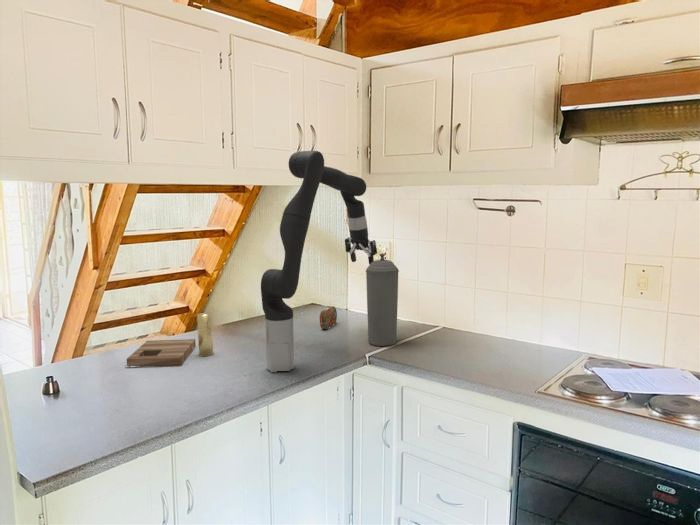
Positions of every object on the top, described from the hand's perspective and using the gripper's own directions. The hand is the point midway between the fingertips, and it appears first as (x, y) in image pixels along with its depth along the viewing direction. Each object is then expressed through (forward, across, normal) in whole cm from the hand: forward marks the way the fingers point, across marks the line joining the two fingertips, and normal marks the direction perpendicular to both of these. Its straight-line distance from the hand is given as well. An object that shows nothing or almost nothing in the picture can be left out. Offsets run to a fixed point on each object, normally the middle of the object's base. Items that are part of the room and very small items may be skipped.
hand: (362, 262), depth 213 cm
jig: (+11, -39, -75) cm, 86 cm away
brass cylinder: (+13, -28, -65) cm, 72 cm away
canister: (+24, +18, -19) cm, 36 cm away
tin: (+28, -14, -12) cm, 33 cm away
